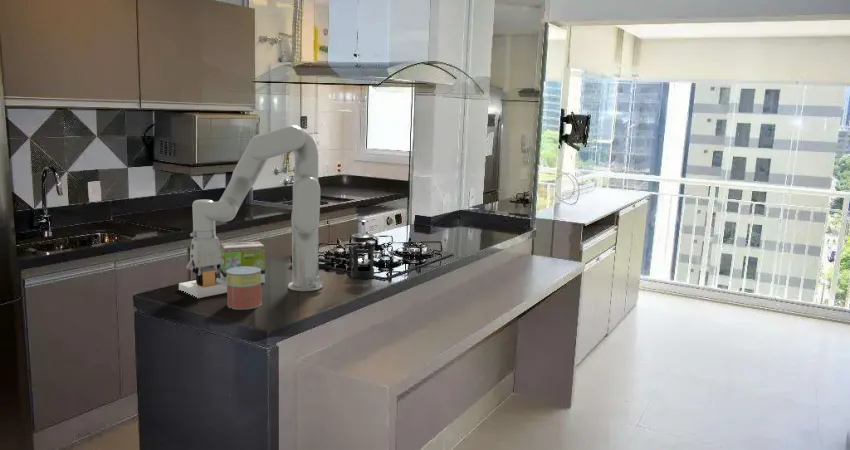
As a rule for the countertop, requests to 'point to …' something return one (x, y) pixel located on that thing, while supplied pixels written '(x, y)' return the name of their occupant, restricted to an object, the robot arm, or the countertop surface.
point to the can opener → (320, 264)
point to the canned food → (244, 287)
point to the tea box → (242, 257)
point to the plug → (208, 276)
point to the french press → (362, 271)
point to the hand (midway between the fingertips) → (206, 283)
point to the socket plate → (201, 292)
